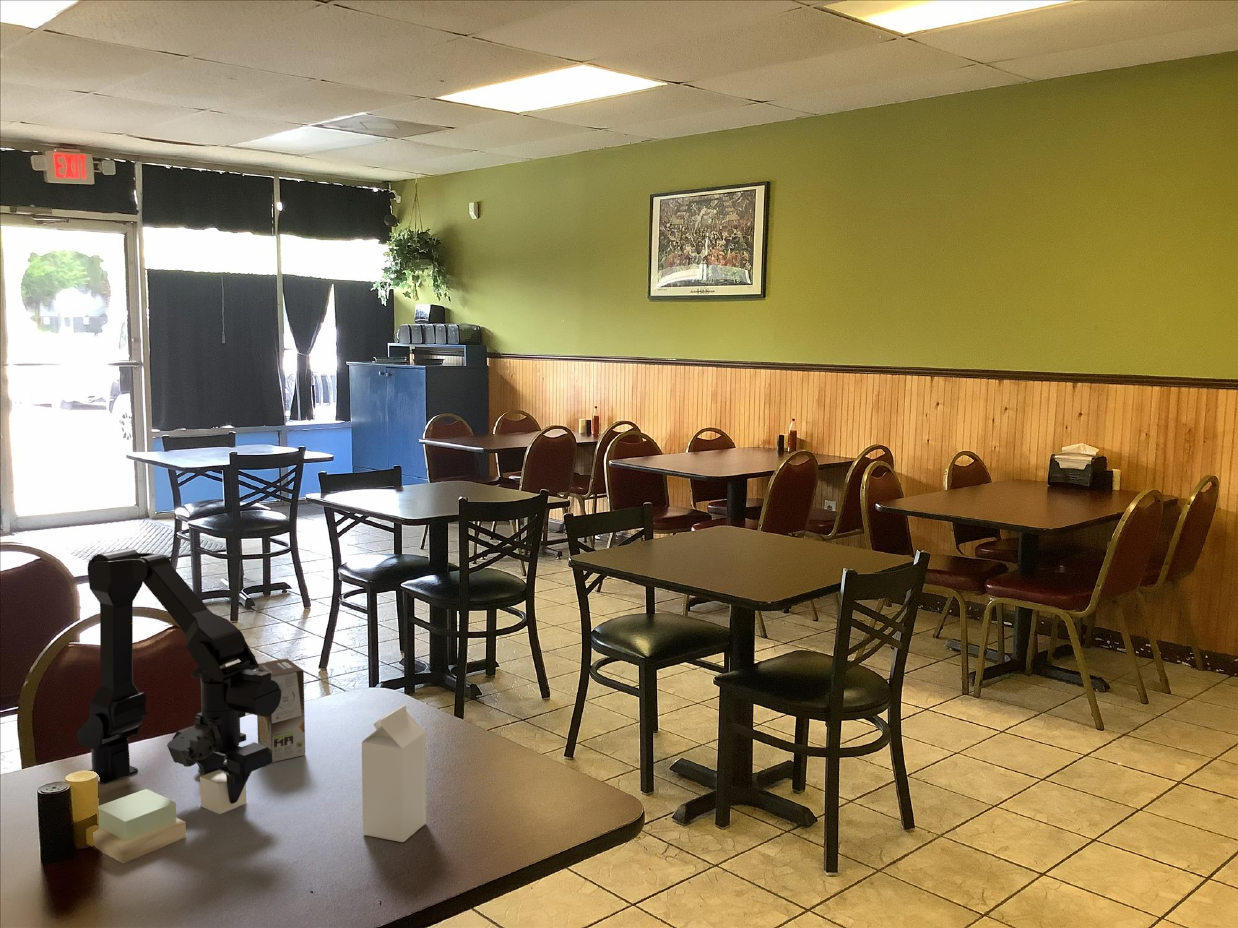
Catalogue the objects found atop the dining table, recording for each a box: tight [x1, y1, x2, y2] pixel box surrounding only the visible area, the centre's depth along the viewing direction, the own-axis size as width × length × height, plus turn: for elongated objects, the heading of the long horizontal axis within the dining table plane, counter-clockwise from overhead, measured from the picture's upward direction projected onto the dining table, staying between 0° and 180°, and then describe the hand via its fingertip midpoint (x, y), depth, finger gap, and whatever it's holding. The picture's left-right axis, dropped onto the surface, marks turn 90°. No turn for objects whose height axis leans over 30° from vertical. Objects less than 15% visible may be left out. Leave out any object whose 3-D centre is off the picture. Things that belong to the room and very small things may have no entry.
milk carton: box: [361, 704, 427, 843], centre depth 161 cm, size 7×7×19 cm
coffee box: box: [255, 658, 306, 763], centre depth 192 cm, size 9×6×16 cm
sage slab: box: [97, 788, 177, 841], centre depth 158 cm, size 8×8×3 cm
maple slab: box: [93, 817, 187, 864], centre depth 158 cm, size 10×10×3 cm
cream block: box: [199, 770, 247, 815], centre depth 170 cm, size 5×5×5 cm
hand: (223, 798), depth 170 cm, fingers closed on cream block, 5 cm apart
